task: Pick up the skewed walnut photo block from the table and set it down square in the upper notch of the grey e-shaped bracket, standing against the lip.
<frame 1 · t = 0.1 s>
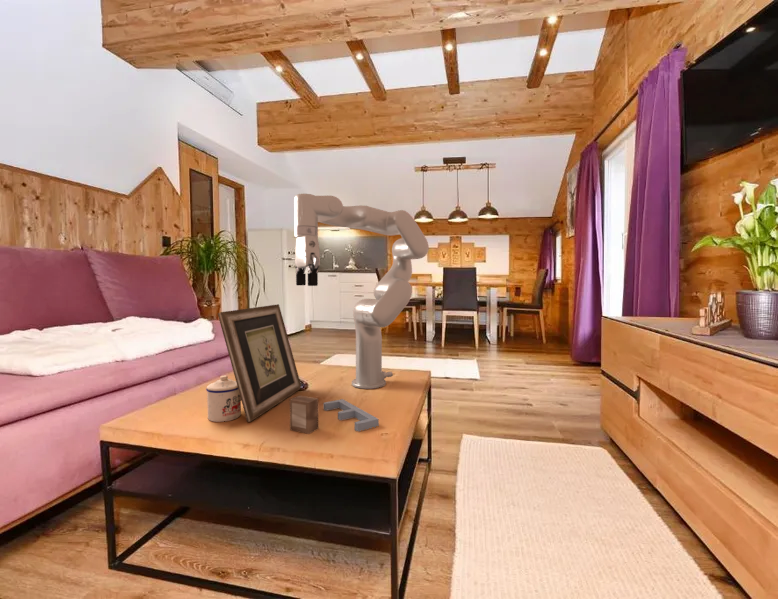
hand: (306, 285, 128), 37 cm above the table, tool pointing down, fingers open, 9 cm apart
teacup with lid: (228, 415, 112), on the table
picture frame: (265, 403, 122), on the table
grey e-shaped bracket: (356, 415, 111), on the table
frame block: (304, 429, 101), on the table
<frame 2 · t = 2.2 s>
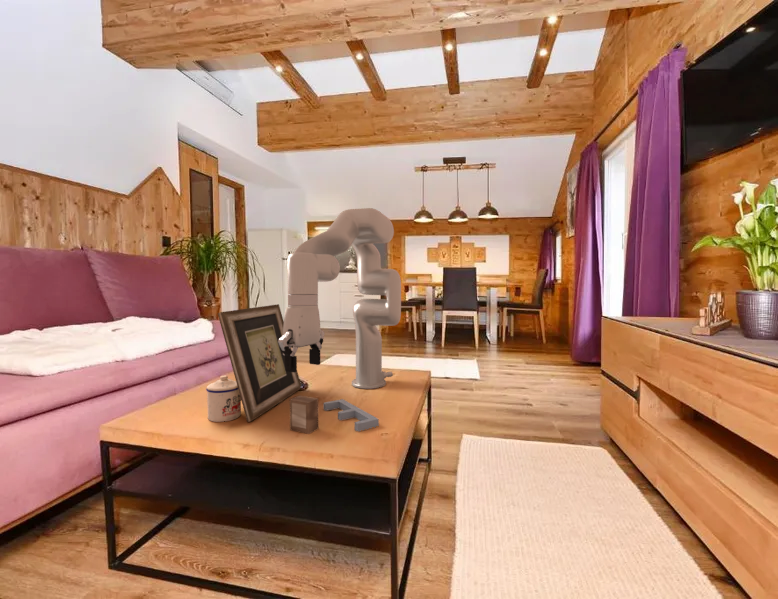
hand: (303, 367, 100), 16 cm above the table, tool pointing down, fingers open, 9 cm apart
nothing on the table moved.
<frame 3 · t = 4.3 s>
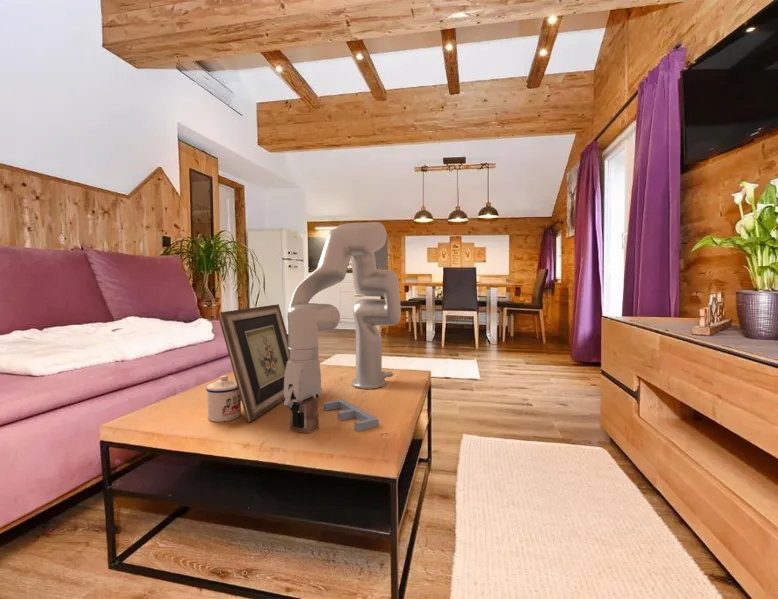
hand: (304, 423, 101), 2 cm above the table, tool pointing down, fingers closed on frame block, 4 cm apart
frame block: (304, 429, 101), on the table, touching gripper
everything else where it was.
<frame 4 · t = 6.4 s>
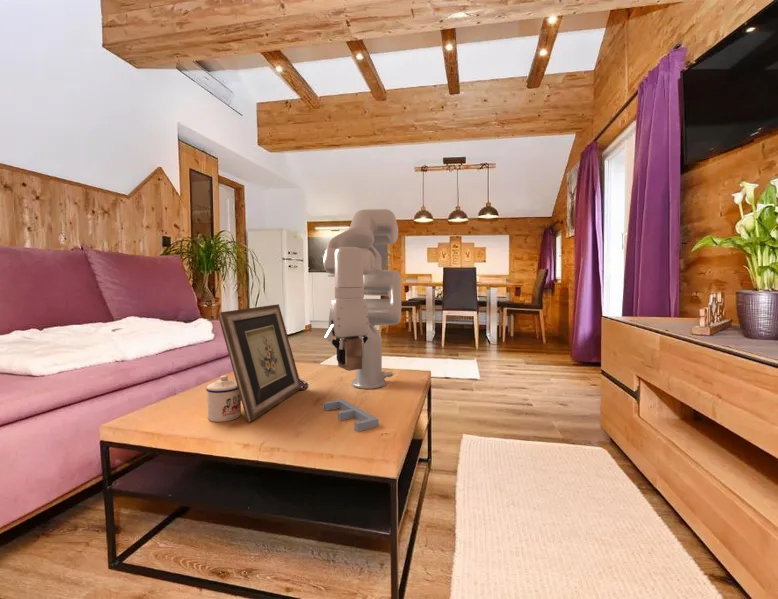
hand: (349, 361, 104), 17 cm above the table, tool pointing down, fingers closed on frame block, 4 cm apart
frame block: (349, 367, 104), point 15 cm above the table, touching gripper
everything else where it was.
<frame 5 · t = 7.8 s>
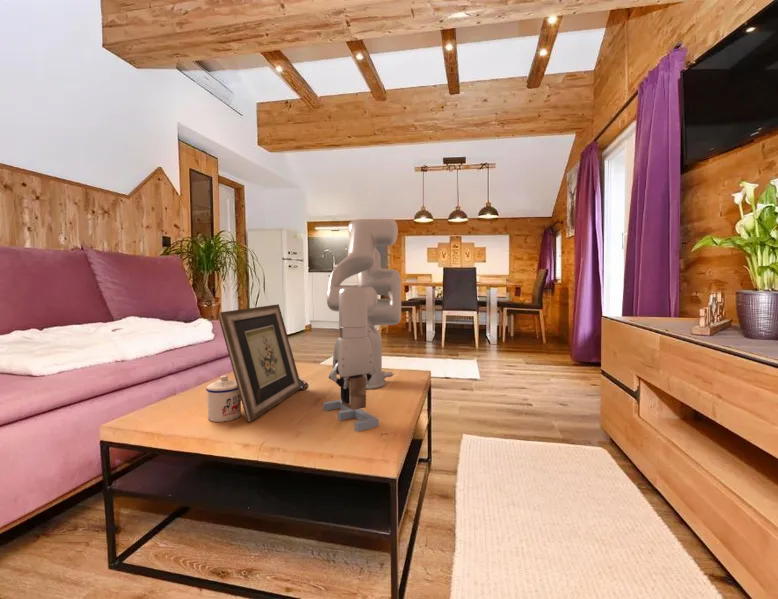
hand: (353, 399, 105), 6 cm above the table, tool pointing down, fingers closed on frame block, 4 cm apart
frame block: (353, 405, 105), point 5 cm above the table, touching gripper
everything else where it was.
when the fingers open (3 cm above the table, at t = 8.8 s): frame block drops 1 cm, on the table.
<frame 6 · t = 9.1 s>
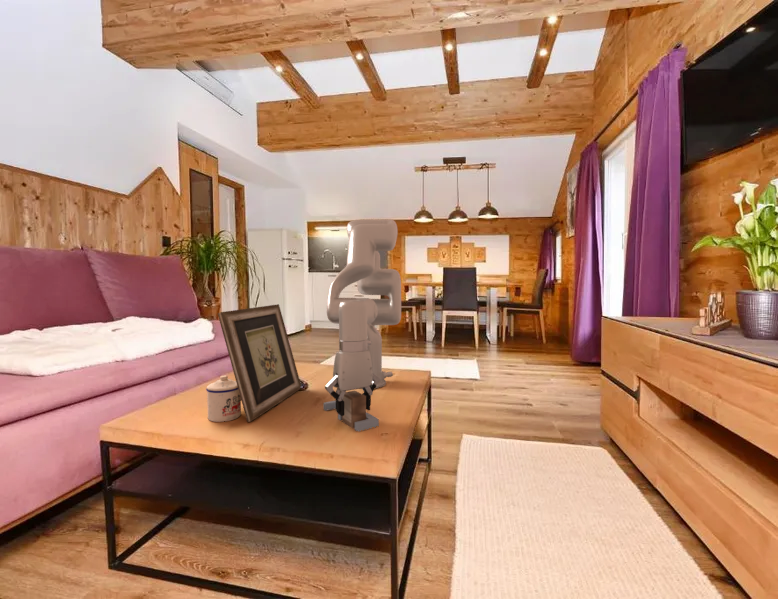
hand: (353, 411, 105), 3 cm above the table, tool pointing down, fingers open, 7 cm apart
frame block: (353, 423, 105), on the table
everything else where it was.
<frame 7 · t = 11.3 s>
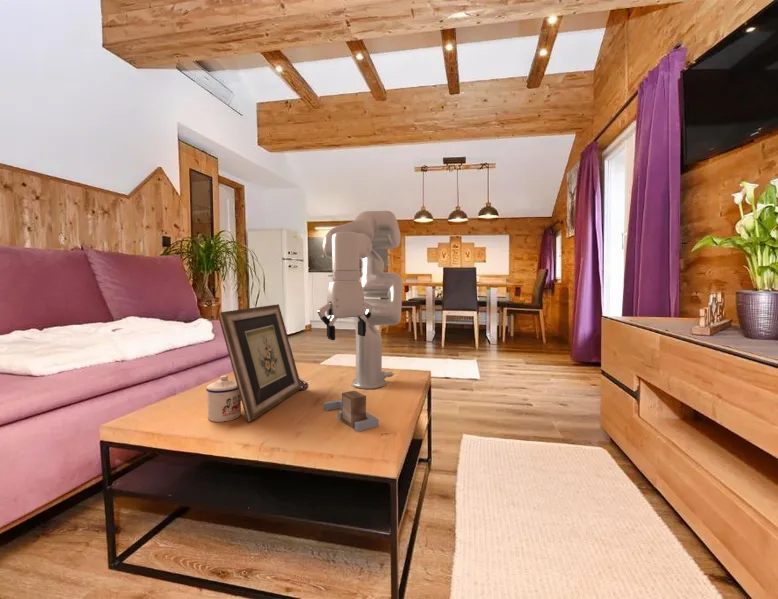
hand: (346, 337, 110), 22 cm above the table, tool pointing down, fingers open, 9 cm apart
nothing on the table moved.
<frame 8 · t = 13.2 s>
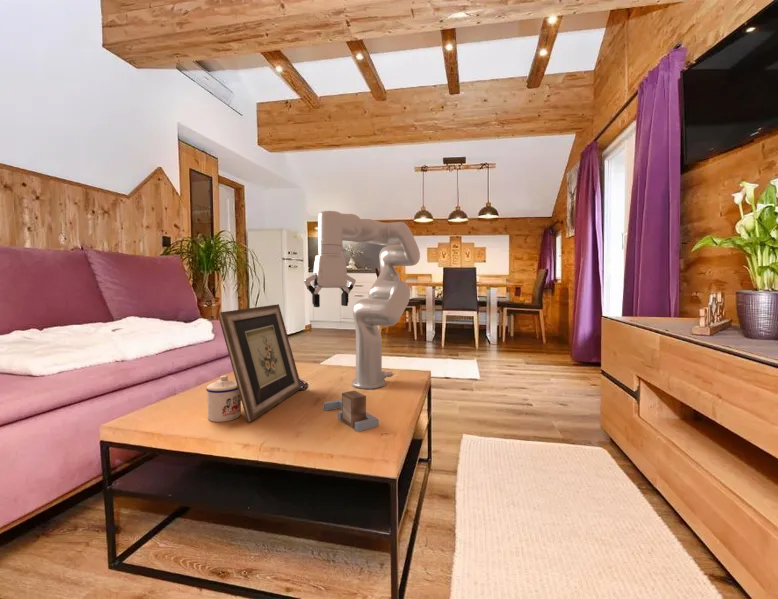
hand: (330, 306, 123), 30 cm above the table, tool pointing down, fingers open, 9 cm apart
nothing on the table moved.
at the end: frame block 0.5 cm from the target spot on the grey e-shaped bracket, point 0.0 cm above the grey e-shaped bracket's base; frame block tilted 0°; the gripper is holding nothing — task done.
